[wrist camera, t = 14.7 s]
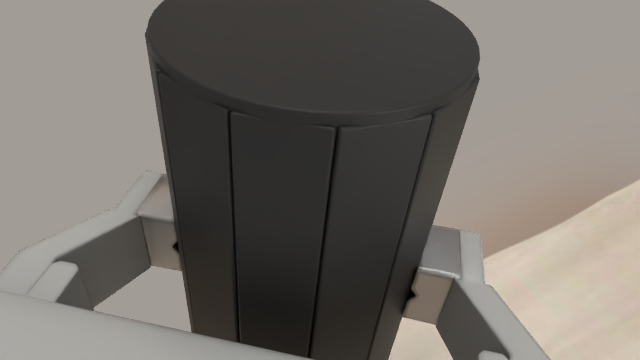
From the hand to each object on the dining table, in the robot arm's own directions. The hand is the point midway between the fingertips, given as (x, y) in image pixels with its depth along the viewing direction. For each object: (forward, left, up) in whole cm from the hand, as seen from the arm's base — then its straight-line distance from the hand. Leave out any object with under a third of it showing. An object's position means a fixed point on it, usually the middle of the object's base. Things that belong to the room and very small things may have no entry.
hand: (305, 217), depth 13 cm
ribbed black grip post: (0, +1, -8) cm, 8 cm away
